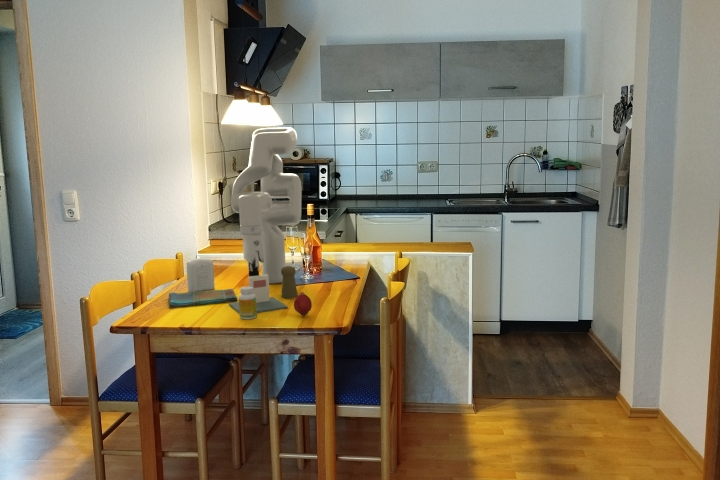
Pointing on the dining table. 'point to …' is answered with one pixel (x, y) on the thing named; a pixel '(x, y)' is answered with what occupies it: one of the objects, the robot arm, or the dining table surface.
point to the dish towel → (201, 298)
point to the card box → (260, 287)
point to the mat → (263, 305)
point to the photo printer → (200, 274)
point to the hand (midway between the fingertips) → (254, 281)
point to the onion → (302, 304)
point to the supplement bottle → (247, 303)
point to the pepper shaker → (288, 283)
